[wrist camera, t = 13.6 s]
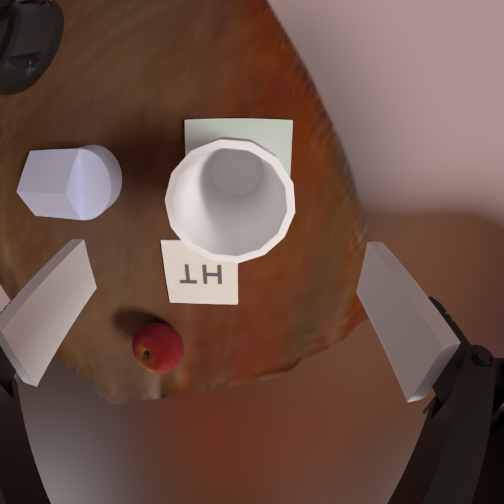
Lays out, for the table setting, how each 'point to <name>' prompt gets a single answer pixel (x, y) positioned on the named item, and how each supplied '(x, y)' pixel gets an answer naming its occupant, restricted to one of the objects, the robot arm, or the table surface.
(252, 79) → the table surface
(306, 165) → the table surface
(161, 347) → the apple
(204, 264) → the cream card
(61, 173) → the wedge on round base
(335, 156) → the table surface
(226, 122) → the sage mat
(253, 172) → the foam cup
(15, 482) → the robot arm
